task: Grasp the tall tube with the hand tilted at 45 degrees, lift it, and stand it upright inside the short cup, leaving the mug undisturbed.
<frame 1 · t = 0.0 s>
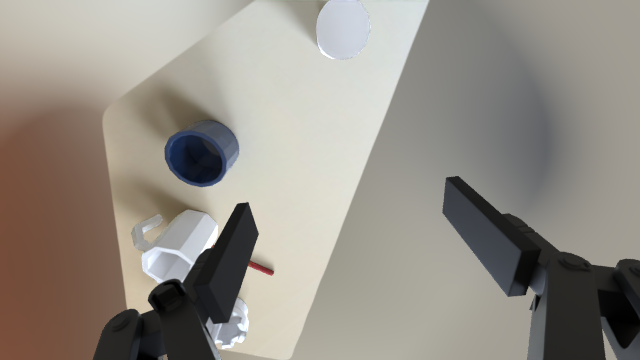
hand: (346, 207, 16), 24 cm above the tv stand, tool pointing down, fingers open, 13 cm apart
flag stand: (224, 307, 58), on the tv stand
cup: (212, 146, 39), on the tv stand
mug: (187, 222, 47), on the tv stand
pencil: (232, 253, 50), on the tv stand
tube: (333, 40, 33), on the tv stand
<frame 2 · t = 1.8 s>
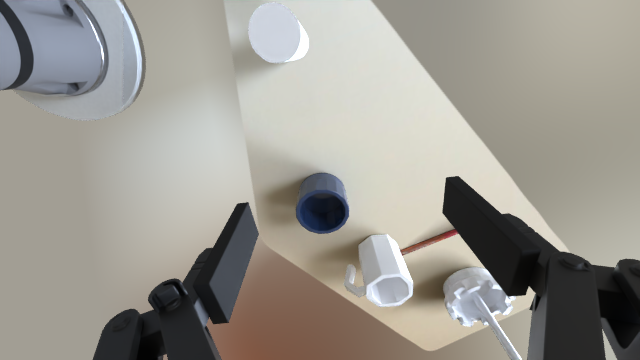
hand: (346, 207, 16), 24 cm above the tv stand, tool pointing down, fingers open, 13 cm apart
flag stand: (467, 284, 55), on the tv stand
cup: (322, 193, 44), on the tv stand
mug: (369, 252, 51), on the tv stand, touching pencil
pencil: (421, 242, 50), on the tv stand, touching mug
tube: (293, 42, 34), on the tv stand
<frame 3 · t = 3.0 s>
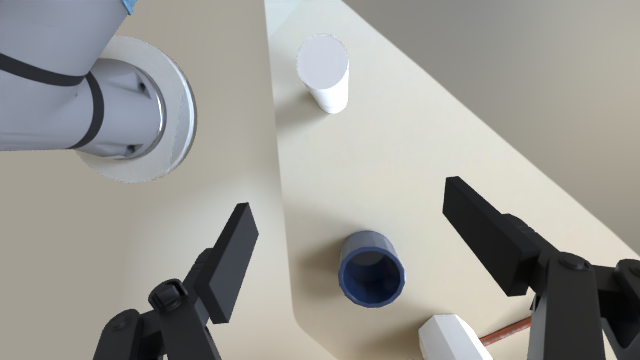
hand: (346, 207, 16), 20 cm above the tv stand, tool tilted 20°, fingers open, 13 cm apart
cup: (367, 256, 37), on the tv stand
mug: (433, 342, 38), on the tv stand
pencil: (505, 327, 37), on the tv stand
tube: (332, 98, 35), on the tv stand
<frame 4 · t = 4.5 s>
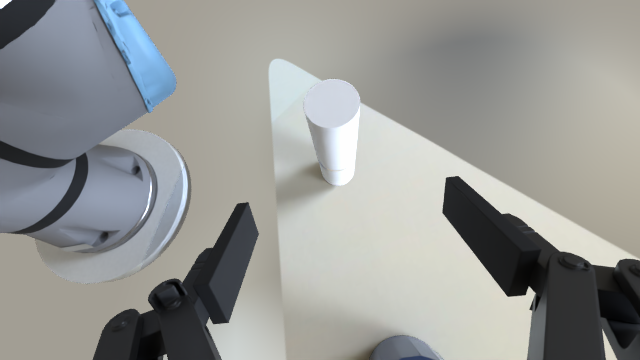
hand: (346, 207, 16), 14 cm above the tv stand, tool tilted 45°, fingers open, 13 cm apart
tube: (337, 170, 33), on the tv stand
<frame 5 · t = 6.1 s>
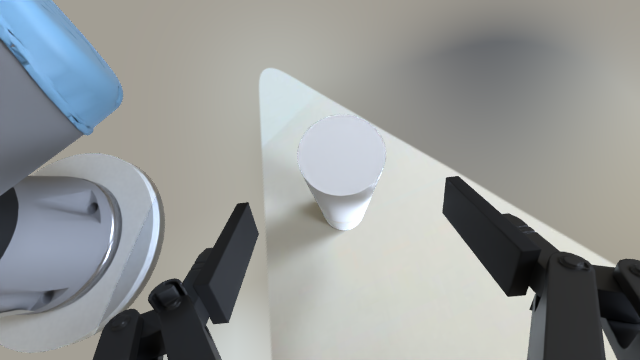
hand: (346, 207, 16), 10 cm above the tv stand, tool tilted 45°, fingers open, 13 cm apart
tube: (343, 210, 26), on the tv stand
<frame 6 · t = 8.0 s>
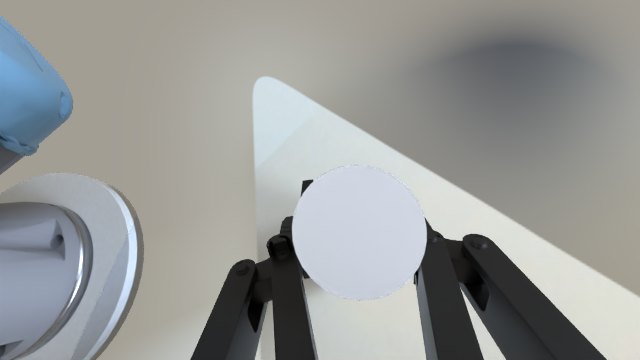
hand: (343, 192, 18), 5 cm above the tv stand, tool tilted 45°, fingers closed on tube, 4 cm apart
tube: (349, 246, 22), on the tv stand, touching gripper
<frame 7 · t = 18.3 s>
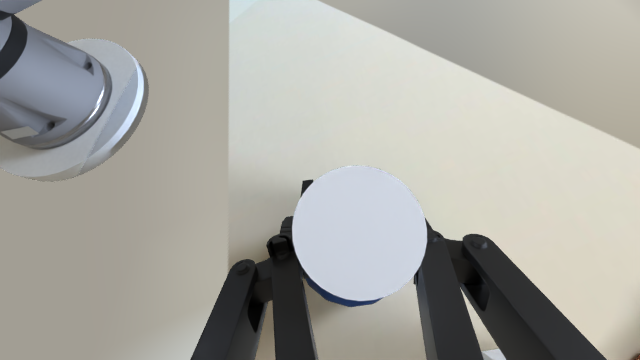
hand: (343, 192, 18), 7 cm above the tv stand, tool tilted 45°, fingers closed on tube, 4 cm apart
cup: (349, 247, 24), on the tv stand
tube: (349, 247, 22), point 2 cm above the tv stand, touching gripper
when the fingers open (8 cm above the tv stand, at t = 21.1 s): tube drops 2 cm, resting on cup.
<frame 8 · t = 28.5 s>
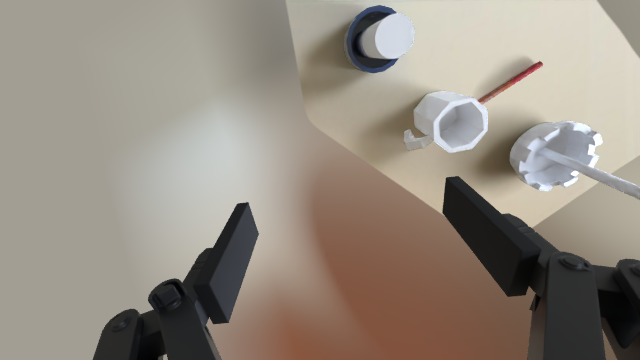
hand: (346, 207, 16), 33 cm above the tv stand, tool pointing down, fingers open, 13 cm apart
flag stand: (537, 149, 49), on the tv stand
cup: (368, 42, 41), on the tv stand
mug: (425, 120, 47), on the tv stand, touching pencil
pencil: (484, 97, 45), on the tv stand, touching mug
tube: (369, 42, 40), point 1 cm above the tv stand, touching cup
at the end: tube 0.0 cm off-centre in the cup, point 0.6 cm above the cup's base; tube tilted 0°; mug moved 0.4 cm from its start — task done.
